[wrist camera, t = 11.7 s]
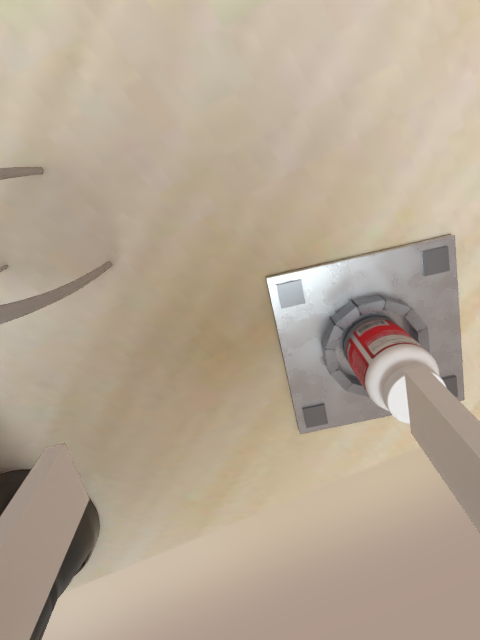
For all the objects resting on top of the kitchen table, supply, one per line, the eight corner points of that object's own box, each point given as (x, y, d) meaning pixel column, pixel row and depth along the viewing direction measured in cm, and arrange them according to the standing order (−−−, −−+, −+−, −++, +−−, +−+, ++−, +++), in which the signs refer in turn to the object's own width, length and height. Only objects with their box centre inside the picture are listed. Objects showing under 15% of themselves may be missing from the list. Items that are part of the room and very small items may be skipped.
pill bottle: (378, 380, 45) (423, 444, 34) (330, 353, 44) (362, 411, 33) (415, 332, 43) (474, 385, 33) (366, 303, 42) (411, 348, 31)
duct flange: (298, 430, 47) (302, 445, 45) (265, 276, 41) (268, 284, 39) (460, 396, 46) (474, 409, 44) (450, 234, 40) (466, 238, 38)
